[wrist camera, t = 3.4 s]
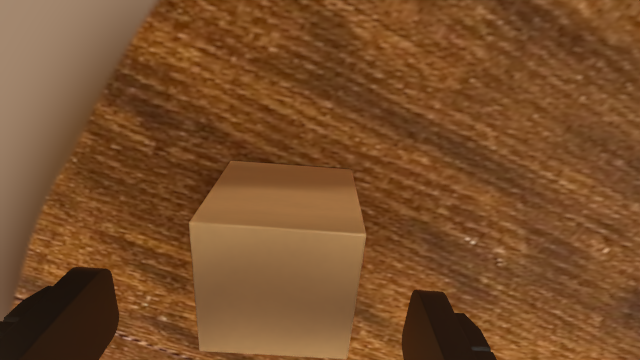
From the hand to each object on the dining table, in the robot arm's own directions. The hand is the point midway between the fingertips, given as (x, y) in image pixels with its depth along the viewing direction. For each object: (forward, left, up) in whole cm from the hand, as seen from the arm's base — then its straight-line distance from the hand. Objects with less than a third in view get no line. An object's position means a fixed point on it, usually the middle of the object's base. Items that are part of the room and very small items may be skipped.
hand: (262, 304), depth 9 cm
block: (0, 0, -5) cm, 5 cm away
